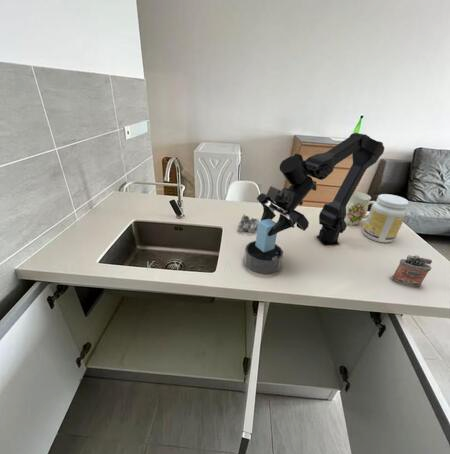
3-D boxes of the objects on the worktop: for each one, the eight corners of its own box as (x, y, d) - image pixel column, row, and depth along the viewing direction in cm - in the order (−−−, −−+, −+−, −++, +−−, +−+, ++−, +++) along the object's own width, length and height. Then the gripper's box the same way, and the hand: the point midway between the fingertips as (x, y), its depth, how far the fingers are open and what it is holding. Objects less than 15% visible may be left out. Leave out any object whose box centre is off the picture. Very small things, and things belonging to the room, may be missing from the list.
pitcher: (375, 229, 108) (388, 200, 101) (334, 225, 110) (343, 196, 102) (366, 218, 117) (377, 191, 110) (328, 214, 119) (336, 188, 112)
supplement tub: (389, 231, 107) (405, 195, 98) (398, 246, 97) (417, 207, 88) (359, 227, 109) (372, 191, 101) (365, 240, 99) (380, 202, 90)
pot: (273, 253, 88) (276, 239, 85) (285, 275, 78) (288, 260, 75) (240, 255, 87) (242, 241, 84) (248, 277, 76) (250, 262, 73)
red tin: (392, 282, 78) (405, 257, 72) (390, 275, 80) (402, 251, 75) (421, 289, 75) (437, 263, 70) (418, 282, 78) (433, 257, 73)
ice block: (265, 242, 81) (269, 218, 77) (274, 248, 78) (278, 224, 73) (255, 245, 79) (258, 221, 75) (263, 252, 76) (267, 227, 71)
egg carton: (243, 221, 109) (243, 213, 107) (259, 224, 107) (260, 216, 105) (236, 232, 100) (236, 223, 98) (253, 236, 98) (254, 227, 96)
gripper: (264, 168, 75) (232, 207, 76) (310, 187, 62) (271, 234, 63) (279, 188, 83) (250, 223, 84) (323, 209, 70) (288, 251, 70)
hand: (263, 232), depth 75 cm, fingers closed on ice block, 4 cm apart
